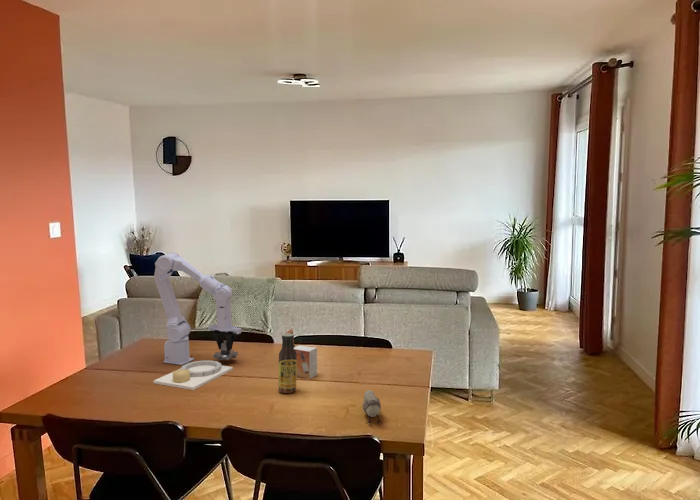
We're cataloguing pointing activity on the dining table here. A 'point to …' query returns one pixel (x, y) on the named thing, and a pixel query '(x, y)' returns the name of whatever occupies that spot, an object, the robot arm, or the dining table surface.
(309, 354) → the small box
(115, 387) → the dining table surface
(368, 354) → the dining table surface
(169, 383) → the carrier plate
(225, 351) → the gear
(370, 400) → the decorative bird
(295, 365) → the sauce bottle
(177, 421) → the dining table surface
